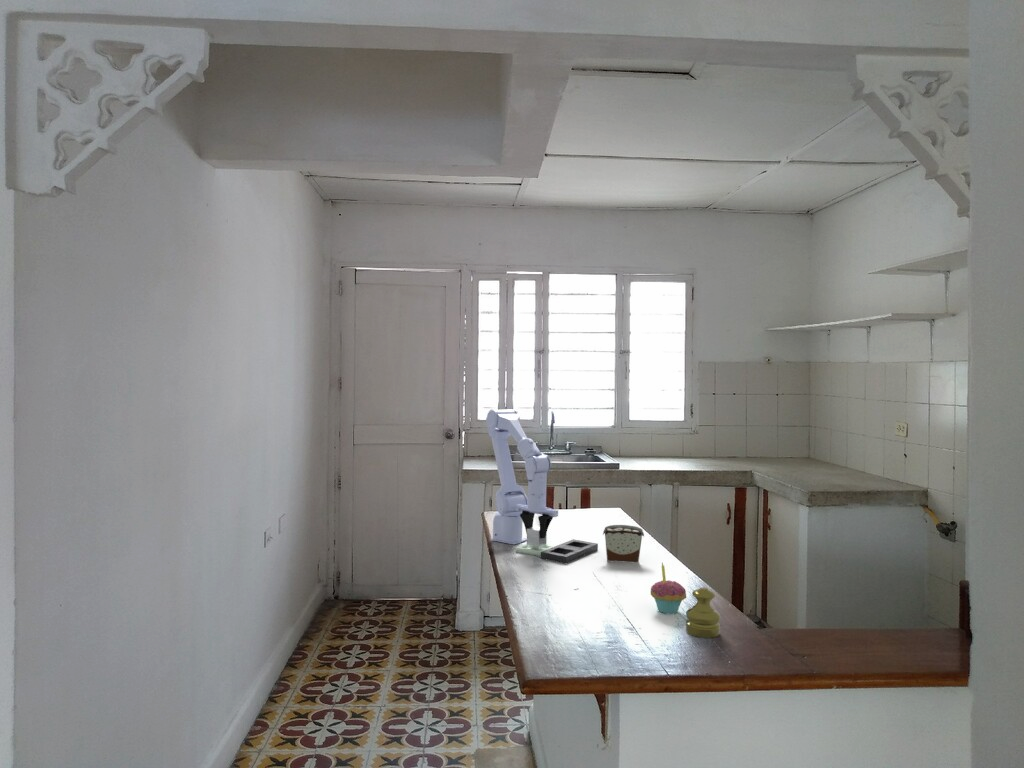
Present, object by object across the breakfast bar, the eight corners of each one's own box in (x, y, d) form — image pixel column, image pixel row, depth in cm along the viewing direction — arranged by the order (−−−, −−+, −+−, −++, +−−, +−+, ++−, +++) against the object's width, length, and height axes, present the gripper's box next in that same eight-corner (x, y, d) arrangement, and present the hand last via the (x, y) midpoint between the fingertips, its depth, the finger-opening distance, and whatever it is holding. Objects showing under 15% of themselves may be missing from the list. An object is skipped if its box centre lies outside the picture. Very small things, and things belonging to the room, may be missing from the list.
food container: (641, 557, 225) (642, 525, 225) (643, 563, 219) (644, 529, 219) (601, 555, 227) (602, 523, 226) (602, 561, 221) (602, 528, 220)
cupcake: (664, 618, 172) (666, 568, 172) (642, 607, 180) (643, 559, 179) (693, 613, 176) (694, 564, 176) (670, 602, 184) (671, 555, 183)
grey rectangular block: (526, 547, 230) (526, 528, 229) (534, 544, 233) (534, 525, 233) (538, 549, 227) (539, 530, 227) (546, 546, 231) (546, 527, 231)
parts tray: (516, 551, 229) (516, 547, 229) (531, 546, 236) (531, 541, 236) (540, 556, 224) (540, 552, 224) (555, 550, 231) (555, 546, 231)
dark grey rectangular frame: (540, 558, 222) (540, 551, 222) (573, 545, 238) (573, 539, 238) (566, 563, 217) (566, 556, 217) (597, 549, 233) (597, 543, 233)
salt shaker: (714, 641, 159) (715, 595, 158) (681, 634, 162) (682, 589, 162) (724, 631, 165) (725, 587, 164) (691, 624, 169) (693, 581, 168)
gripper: (563, 494, 229) (562, 537, 229) (524, 489, 237) (523, 530, 237) (551, 497, 223) (550, 542, 223) (512, 492, 231) (511, 534, 231)
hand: (536, 536), depth 230 cm, fingers closed on grey rectangular block, 4 cm apart
